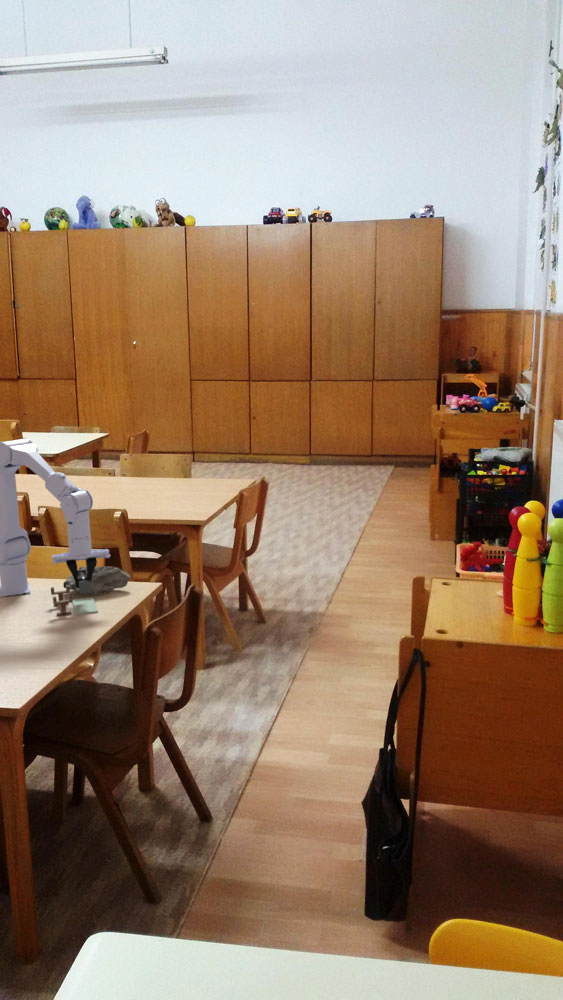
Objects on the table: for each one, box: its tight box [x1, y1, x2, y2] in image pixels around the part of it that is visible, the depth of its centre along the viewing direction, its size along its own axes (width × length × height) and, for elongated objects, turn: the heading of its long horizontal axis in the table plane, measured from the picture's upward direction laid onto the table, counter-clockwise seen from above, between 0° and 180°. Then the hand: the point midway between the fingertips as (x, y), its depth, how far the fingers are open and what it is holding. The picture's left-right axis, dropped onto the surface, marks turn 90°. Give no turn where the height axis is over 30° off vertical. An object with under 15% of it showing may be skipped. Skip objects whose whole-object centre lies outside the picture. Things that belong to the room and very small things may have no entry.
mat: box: [72, 596, 99, 616], centre depth 214 cm, size 12×6×1 cm, turn 19°
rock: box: [62, 566, 131, 595], centre depth 227 cm, size 18×10×10 cm
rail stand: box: [50, 585, 74, 617], centre depth 212 cm, size 10×5×5 cm, turn 19°
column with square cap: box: [77, 569, 92, 594], centre depth 213 cm, size 12×3×3 cm, turn 19°
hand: (83, 586), depth 213 cm, fingers closed on column with square cap, 2 cm apart
